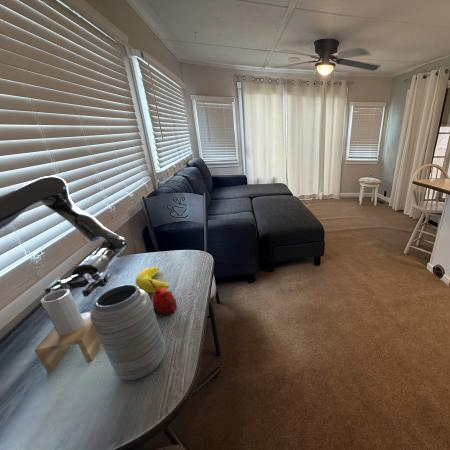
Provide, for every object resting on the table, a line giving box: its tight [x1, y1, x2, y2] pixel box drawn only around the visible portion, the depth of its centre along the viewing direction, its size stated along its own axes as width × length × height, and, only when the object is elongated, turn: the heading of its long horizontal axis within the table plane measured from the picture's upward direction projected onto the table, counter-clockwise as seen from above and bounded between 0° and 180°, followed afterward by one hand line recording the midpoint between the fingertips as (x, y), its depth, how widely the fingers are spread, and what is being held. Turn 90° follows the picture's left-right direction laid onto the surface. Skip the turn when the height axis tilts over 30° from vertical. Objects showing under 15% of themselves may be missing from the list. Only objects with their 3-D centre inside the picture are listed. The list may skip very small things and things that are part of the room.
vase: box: [90, 283, 166, 381], centre depth 60 cm, size 12×12×23 cm
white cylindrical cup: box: [40, 288, 84, 335], centre depth 65 cm, size 6×6×11 cm
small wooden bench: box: [34, 311, 102, 373], centre depth 68 cm, size 10×12×8 cm
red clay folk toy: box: [148, 277, 178, 317], centre depth 81 cm, size 8×7×15 cm
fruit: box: [135, 266, 169, 294], centre depth 98 cm, size 10×5×20 cm
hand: (66, 297), depth 67 cm, fingers open, 8 cm apart
